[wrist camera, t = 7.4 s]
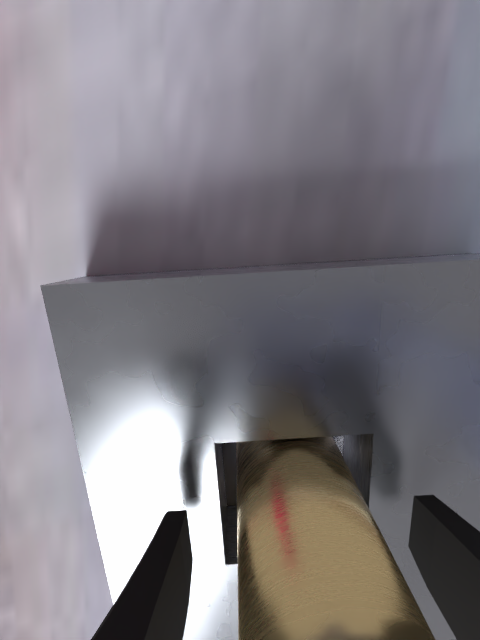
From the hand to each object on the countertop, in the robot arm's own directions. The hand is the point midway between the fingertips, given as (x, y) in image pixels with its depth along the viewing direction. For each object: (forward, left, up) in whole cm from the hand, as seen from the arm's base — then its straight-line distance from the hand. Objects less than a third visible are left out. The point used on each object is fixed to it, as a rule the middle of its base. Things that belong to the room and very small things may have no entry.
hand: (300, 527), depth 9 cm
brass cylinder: (0, 0, -3) cm, 3 cm away
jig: (0, 0, -3) cm, 3 cm away
